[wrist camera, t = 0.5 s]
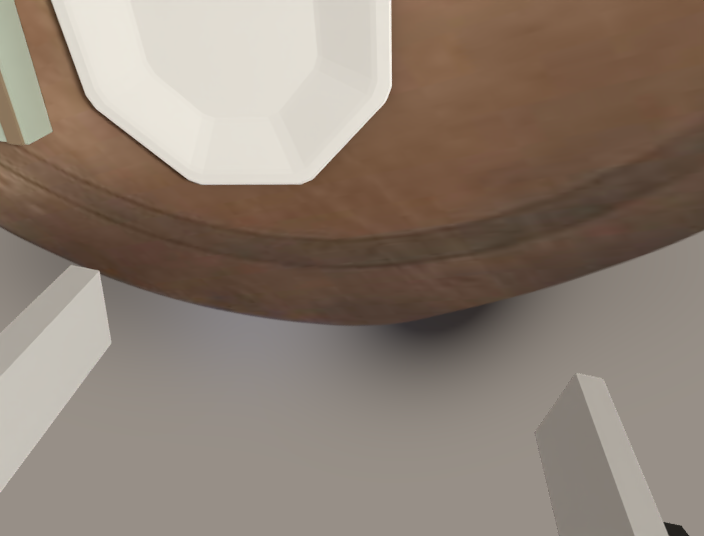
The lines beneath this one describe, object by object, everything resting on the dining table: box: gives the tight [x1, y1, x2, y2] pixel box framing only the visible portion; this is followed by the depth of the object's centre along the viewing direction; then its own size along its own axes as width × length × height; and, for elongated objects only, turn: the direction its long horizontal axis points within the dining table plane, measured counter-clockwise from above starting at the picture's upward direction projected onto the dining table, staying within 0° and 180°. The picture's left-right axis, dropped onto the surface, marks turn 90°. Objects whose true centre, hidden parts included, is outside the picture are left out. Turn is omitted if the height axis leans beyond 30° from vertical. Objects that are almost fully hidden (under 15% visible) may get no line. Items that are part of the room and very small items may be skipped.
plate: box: [51, 0, 392, 185], centre depth 33 cm, size 24×24×2 cm
